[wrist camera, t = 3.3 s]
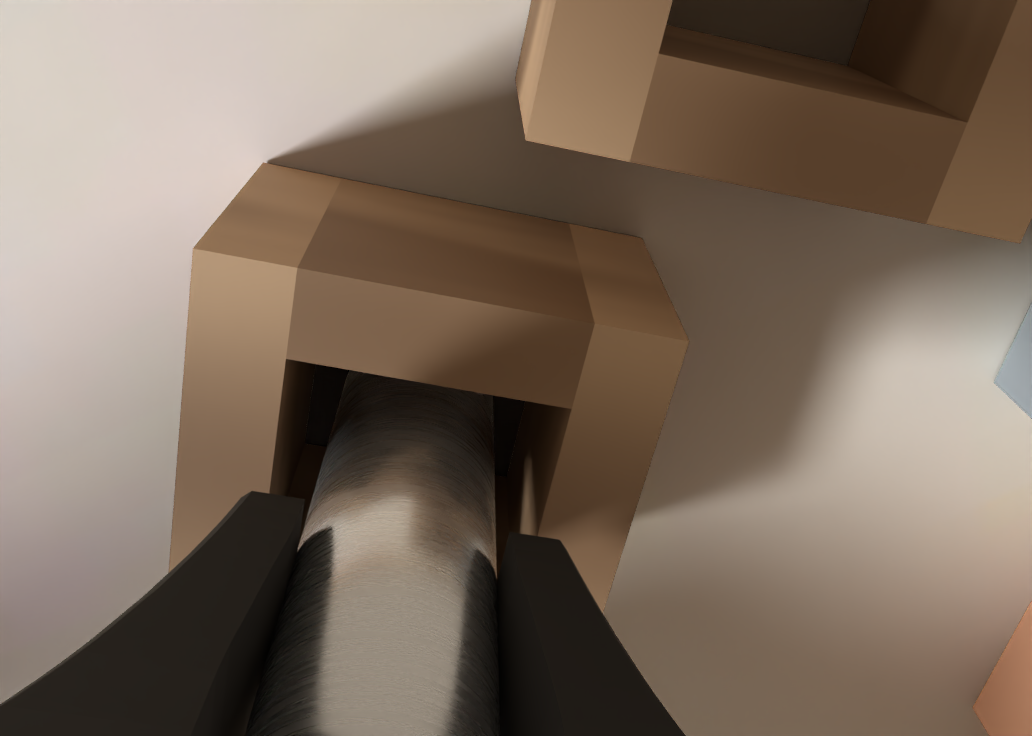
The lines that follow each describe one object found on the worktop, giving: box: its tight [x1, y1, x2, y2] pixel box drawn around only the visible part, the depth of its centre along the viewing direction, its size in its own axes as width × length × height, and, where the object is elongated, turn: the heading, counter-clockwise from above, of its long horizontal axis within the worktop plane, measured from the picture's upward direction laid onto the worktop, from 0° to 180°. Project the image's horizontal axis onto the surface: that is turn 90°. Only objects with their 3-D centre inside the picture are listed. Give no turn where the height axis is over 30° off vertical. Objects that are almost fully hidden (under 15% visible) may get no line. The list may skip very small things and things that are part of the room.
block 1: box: [169, 163, 689, 613], centre depth 15 cm, size 6×6×4 cm
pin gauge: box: [244, 370, 500, 736], centre depth 12 cm, size 2×2×8 cm
